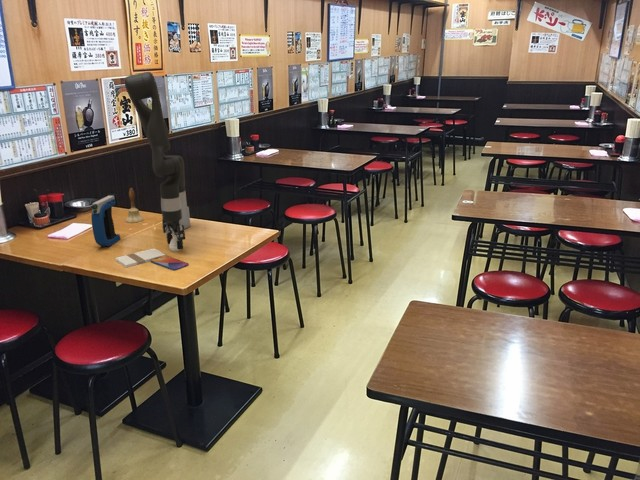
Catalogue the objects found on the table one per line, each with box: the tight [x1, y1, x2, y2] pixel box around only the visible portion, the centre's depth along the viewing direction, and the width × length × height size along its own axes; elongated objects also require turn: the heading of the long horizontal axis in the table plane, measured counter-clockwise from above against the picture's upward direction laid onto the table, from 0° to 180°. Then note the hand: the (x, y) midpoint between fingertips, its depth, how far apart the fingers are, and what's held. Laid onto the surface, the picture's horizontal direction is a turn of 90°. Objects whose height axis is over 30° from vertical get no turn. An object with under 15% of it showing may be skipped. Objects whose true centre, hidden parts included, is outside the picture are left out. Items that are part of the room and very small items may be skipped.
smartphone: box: [150, 254, 189, 271], centre depth 197 cm, size 7×15×1 cm, turn 52°
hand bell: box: [125, 187, 144, 224], centre depth 247 cm, size 8×8×16 cm
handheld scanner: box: [90, 193, 121, 247], centre depth 215 cm, size 5×16×20 cm, turn 174°
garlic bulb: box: [168, 235, 183, 252], centre depth 210 cm, size 6×6×5 cm
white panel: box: [114, 247, 166, 268], centre depth 201 cm, size 16×10×1 cm, turn 133°
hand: (175, 246), depth 210 cm, fingers open, 8 cm apart
